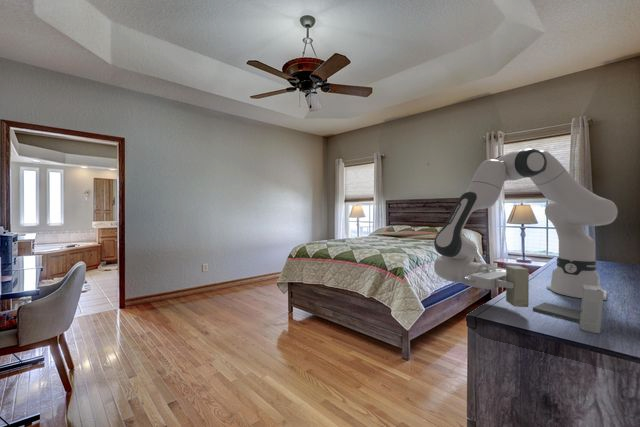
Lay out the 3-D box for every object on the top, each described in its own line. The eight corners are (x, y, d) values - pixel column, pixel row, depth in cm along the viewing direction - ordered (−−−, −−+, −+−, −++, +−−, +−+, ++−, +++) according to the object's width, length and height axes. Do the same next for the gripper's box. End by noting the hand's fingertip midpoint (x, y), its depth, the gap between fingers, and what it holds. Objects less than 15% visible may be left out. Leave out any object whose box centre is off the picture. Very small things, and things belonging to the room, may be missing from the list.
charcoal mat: (544, 305, 105) (544, 302, 105) (588, 316, 95) (588, 313, 95) (532, 310, 99) (532, 307, 99) (578, 322, 89) (578, 319, 89)
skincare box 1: (528, 307, 93) (530, 269, 92) (513, 306, 93) (514, 268, 93) (519, 301, 99) (520, 265, 98) (504, 300, 100) (505, 264, 99)
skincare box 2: (579, 323, 88) (581, 283, 88) (600, 328, 85) (602, 286, 85) (580, 330, 83) (582, 287, 83) (602, 334, 81) (604, 290, 80)
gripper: (461, 269, 101) (505, 278, 89) (491, 263, 112) (533, 270, 101) (460, 287, 101) (504, 298, 89) (490, 279, 112) (532, 288, 101)
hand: (520, 283), depth 95 cm, fingers closed on skincare box 1, 7 cm apart
